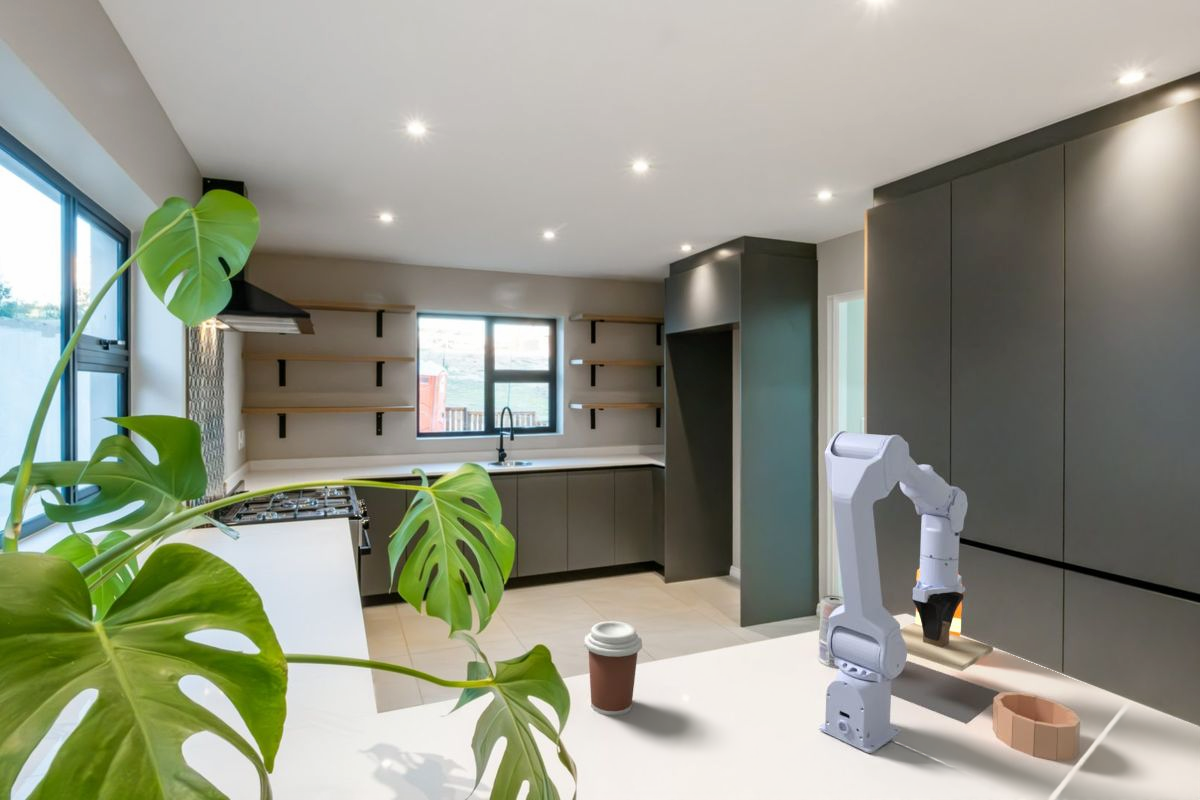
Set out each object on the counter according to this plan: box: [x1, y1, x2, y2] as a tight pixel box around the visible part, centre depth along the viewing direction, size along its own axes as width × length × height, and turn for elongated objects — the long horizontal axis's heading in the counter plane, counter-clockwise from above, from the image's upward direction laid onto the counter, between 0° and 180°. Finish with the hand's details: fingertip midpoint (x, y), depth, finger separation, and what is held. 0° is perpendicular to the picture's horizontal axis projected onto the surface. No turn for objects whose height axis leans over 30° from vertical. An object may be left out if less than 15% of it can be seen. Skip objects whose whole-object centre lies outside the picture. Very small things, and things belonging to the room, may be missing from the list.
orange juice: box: [915, 567, 963, 637], centre depth 125 cm, size 8×9×20 cm
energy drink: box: [818, 594, 844, 670], centre depth 118 cm, size 5×5×12 cm
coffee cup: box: [584, 620, 643, 716], centre depth 100 cm, size 9×9×12 cm
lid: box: [900, 621, 994, 672], centre depth 108 cm, size 13×13×4 cm
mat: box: [891, 660, 1002, 725], centre depth 108 cm, size 16×16×1 cm
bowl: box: [991, 691, 1081, 762], centre depth 92 cm, size 10×10×5 cm
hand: (936, 636), depth 108 cm, fingers closed on lid, 3 cm apart
